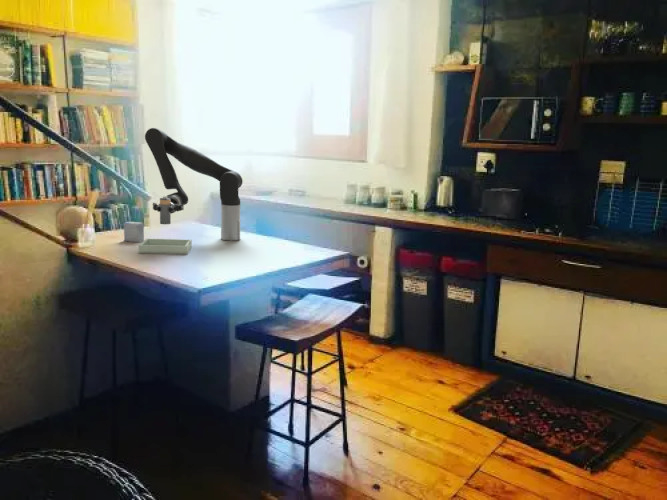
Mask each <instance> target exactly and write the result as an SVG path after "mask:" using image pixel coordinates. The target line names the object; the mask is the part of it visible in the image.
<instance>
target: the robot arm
mask: <svg viewBox="0 0 667 500" xmlns="http://www.w3.org/2000/svg"><path fill="white" fill-rule="evenodd" d="M144 139H145V142H146V144H147V146H148V148H149V150H150V151H151V153H152V155H153V158H154V160H155V162H156V166H157V168H158V171H159V174H160V177H161V180H162V183H163V186H164V188H165V189H166V190H175V191H176V192H173V193H171V194H167V195H166V196H167V198H170V200H171V204H170V207H169V212H171V214H174V213H176V212H181V211H184V207H185V206H186V205H187V204H188V202H189V196H188V195H187V193H186V192H185V191H184V189H183V187H182V186H181V184H180V182H179V180H178V179H179V178H178V176H177V173H176V170H175V168H174V166H173V163H171V162H172V161H170V159H169V156H168V155H170V156H172V157H173V158H174V159H175V160H177V161H178V163H181V164H182V165H183V166H185V167H187V168H188V169H190V170H192V171H195V172H196V173H199V174H201V175H205V176H207V177H211V178H212V179H214V180H217V181H218V182H219V199H220V203H221V204H220V209H221V210H220V239H221V240H223V241H240V240H241V199H240V196H239V189H240V188H241V187H242V185H243V181H244V180H243V178H242V176H241V174H240V173H239V172H237V171H234V170H232V169H230V168H227V167H226V166H224V165H221V164H219V163H218V162H216V161H215V160H213V159H212V158H210V157H208V156H207V155H206V154H204V153H202V152H200V151H199V150H196V149H195V148H193V147H190V146H188V145H186V144H182V143H180V142H178V141H177V140H175V139H173V138H172V137H171V136H169V135H168V134H167V133H165V132H164V131H163V130H160V129H159V128H156V127H151V128H149V129H147V130H146V132H145V134H144ZM152 209H153V211H157V212H159V213H160V203H159V204H157V202H156V203H155V202H153V203H152Z"/></svg>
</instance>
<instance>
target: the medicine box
mask: <svg viewBox="0 0 667 500" xmlns="http://www.w3.org/2000/svg"><path fill="white" fill-rule="evenodd" d="M144 229H145V228H144V222H139V221H138V222H137V221H126V222H123V233H124V235H123V237H124V241H125V242H135V243H142V242H143V241H144V240H145V231H144Z"/></svg>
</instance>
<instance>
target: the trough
mask: <svg viewBox="0 0 667 500" xmlns="http://www.w3.org/2000/svg"><path fill="white" fill-rule="evenodd" d="M192 240H193V239H182V238H181V239H179V238H177V239H173V238H172V239H171V238H144V241H141V242H140V244H139V245H138V254H148V255H149V254H150V255H151V254H152V255H153V254H154V255H155V254H157V255H158V254H159V255H188V254H189V252H190V250H191V249H192V248H191V247H193V246H192V245H193V243H192V242H193V241H192Z"/></svg>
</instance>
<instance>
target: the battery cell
mask: <svg viewBox="0 0 667 500" xmlns="http://www.w3.org/2000/svg"><path fill="white" fill-rule="evenodd" d="M159 204H160V212H159V224H160V225H170V224H172V223H171V216H172V213H171V212H169V207H170V204H171V200H170V198H167V195H166V196H165V195H164V196H162V197H160V198H159Z"/></svg>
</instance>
